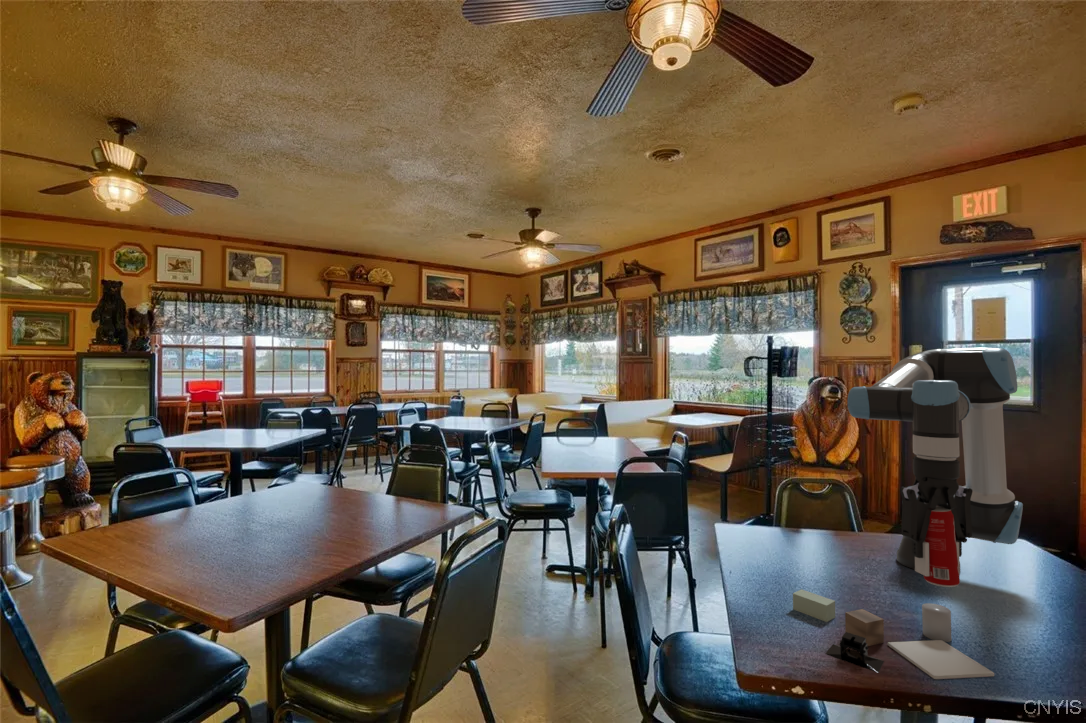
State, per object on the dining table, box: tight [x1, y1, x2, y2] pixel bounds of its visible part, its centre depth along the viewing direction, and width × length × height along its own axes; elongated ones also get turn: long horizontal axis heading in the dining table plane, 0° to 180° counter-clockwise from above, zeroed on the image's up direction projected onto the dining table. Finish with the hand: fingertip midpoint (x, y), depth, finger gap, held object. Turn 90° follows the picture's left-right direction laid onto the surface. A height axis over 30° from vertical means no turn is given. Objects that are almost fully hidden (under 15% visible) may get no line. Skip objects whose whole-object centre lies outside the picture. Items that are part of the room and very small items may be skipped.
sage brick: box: [792, 588, 836, 623], centre depth 124 cm, size 4×8×4 cm, turn 36°
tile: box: [887, 639, 995, 680], centre depth 104 cm, size 12×12×1 cm
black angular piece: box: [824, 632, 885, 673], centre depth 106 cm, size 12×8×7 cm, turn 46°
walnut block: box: [844, 608, 885, 647], centre depth 113 cm, size 5×5×5 cm
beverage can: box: [923, 505, 961, 588], centre depth 104 cm, size 6×6×15 cm
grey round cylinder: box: [921, 603, 953, 643], centre depth 113 cm, size 5×5×6 cm
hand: (937, 572), depth 104 cm, fingers closed on beverage can, 6 cm apart
